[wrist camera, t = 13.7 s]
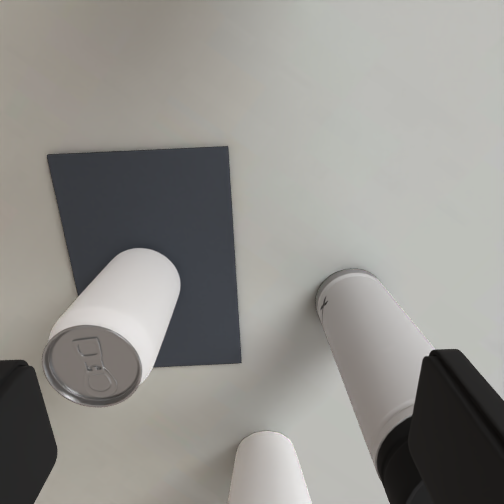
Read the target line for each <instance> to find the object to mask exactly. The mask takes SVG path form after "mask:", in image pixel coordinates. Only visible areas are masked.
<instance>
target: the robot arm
mask: <svg viewBox="0 0 504 504" xmlns="http://www.w3.org/2000/svg"><path fill="white" fill-rule="evenodd" d="M408 446H409V451H410V454H411V456H412V459H413V461H414V463H415V465H416V467H417V469H418V471H419V474H420V476H421V478H422V480H423V482H424V484H425V486H426V488H427V491H428V493H429V495H430V497H431V499H432V501H433V503H434V504H504V401H503V400H502V398H501V397H500V396H499V395H498V394H497V393H496V391H495V390H494V389H493V388H492V387H491V386H490V384H489V383H488V382H487V381H486V380H485V379H484V378H483V376H482V375H481V374H480V373H479V372H478V371H477V369H476V368H475V367H474V366H473V365H472V364H471V362H470V361H469V360H468V359H467V358H466V357H465V356H464V354H463V353H462V352H461V351H459V350H457V349H442V350H432V351H431V352H430V353H429V356H425V357H424V358H423V360H422V365H421V370H420V376H419V381H418V386H417V392H416V397H415V403H414V408H413V414H412V419H411V425H410V430H409V436H408ZM56 458H57V445H56V442H55V438H54V435H53V431H52V428H51V424H50V421H49V417H48V414H47V410H46V407H45V404H44V400H43V397H42V393H41V390H40V386H39V383H38V379H37V376H36V372H35V370H34V368H33V367H32V366H28V363H27V362H26V361H24V360H0V504H34V502H35V500H36V499H37V497H38V495H39V493H40V491H41V489H42V487H43V485H44V483H45V482H46V480H47V478H48V476H49V474H50V472H51V470H52V468H53V466H54V464H55V462H56Z"/></svg>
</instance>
